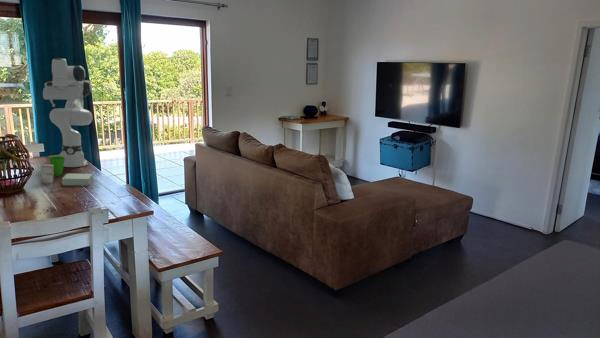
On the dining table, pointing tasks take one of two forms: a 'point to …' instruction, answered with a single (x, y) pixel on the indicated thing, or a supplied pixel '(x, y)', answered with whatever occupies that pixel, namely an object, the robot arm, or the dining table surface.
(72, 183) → the base plinth
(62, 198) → the dining table surface
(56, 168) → the cup
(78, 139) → the robot arm
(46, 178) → the cream block
